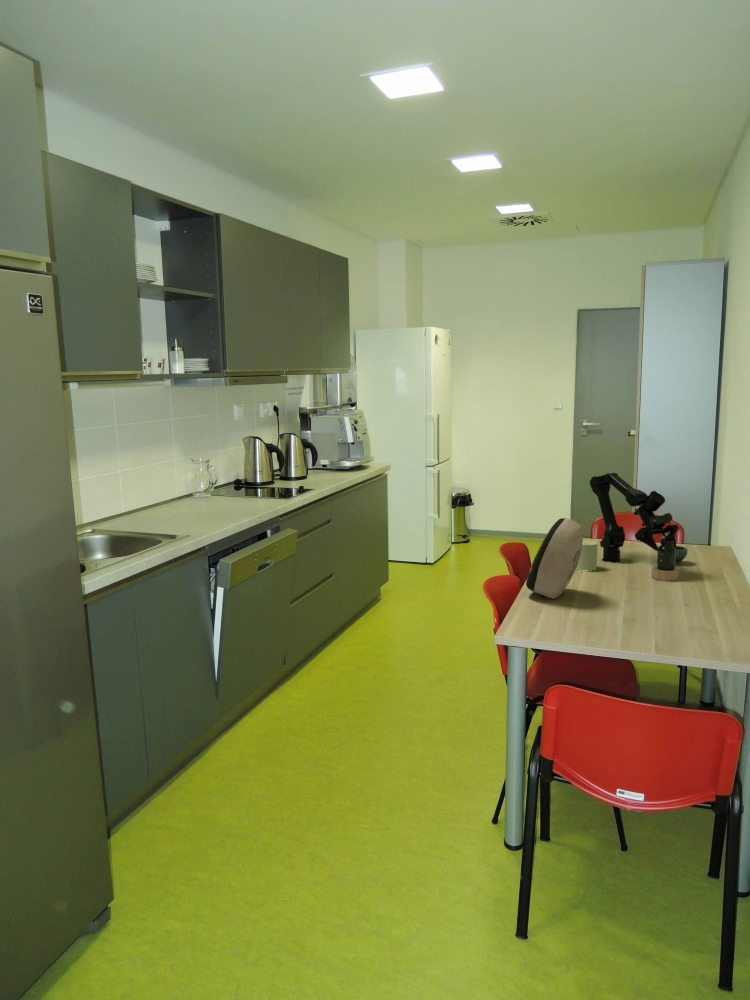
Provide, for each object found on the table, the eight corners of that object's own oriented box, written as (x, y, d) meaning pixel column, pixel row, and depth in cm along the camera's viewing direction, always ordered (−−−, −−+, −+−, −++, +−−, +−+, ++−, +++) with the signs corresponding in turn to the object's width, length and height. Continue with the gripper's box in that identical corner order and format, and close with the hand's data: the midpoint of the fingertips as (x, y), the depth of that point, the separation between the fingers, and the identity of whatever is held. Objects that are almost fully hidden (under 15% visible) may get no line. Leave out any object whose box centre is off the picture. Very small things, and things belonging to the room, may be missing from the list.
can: (573, 570, 308) (574, 543, 306) (576, 565, 317) (576, 538, 315) (595, 572, 305) (596, 544, 303) (597, 566, 313) (598, 540, 311)
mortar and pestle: (687, 562, 319) (689, 535, 317) (685, 566, 311) (687, 539, 309) (660, 559, 324) (661, 533, 322) (657, 564, 316) (659, 537, 314)
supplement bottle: (653, 567, 296) (654, 538, 294) (666, 565, 298) (667, 537, 296) (665, 571, 289) (666, 542, 287) (678, 569, 292) (680, 540, 290)
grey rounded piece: (535, 584, 288) (537, 510, 283) (586, 590, 279) (588, 514, 275) (521, 599, 269) (522, 520, 264) (575, 606, 260) (577, 524, 255)
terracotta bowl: (648, 579, 293) (649, 569, 293) (655, 573, 301) (656, 564, 300) (673, 582, 287) (674, 573, 287) (680, 577, 295) (681, 567, 294)
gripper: (641, 508, 291) (659, 540, 282) (677, 504, 297) (696, 536, 289) (626, 524, 299) (644, 555, 291) (662, 520, 306) (680, 551, 298)
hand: (666, 549), depth 292 cm, fingers open, 9 cm apart
